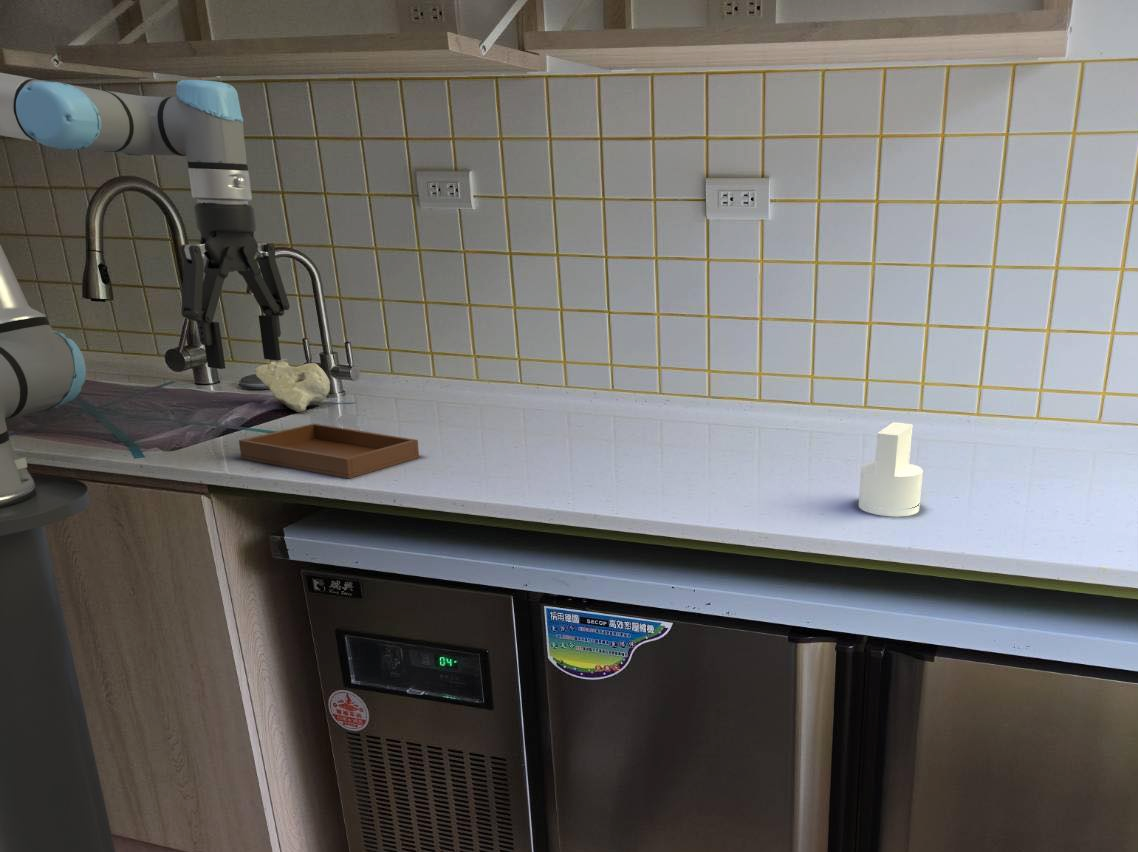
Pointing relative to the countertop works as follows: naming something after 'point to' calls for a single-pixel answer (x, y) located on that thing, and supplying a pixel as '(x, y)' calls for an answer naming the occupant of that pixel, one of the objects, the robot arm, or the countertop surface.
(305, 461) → the tray
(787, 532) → the countertop surface
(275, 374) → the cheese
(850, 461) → the countertop surface
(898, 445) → the cylinder with rectangular tab
